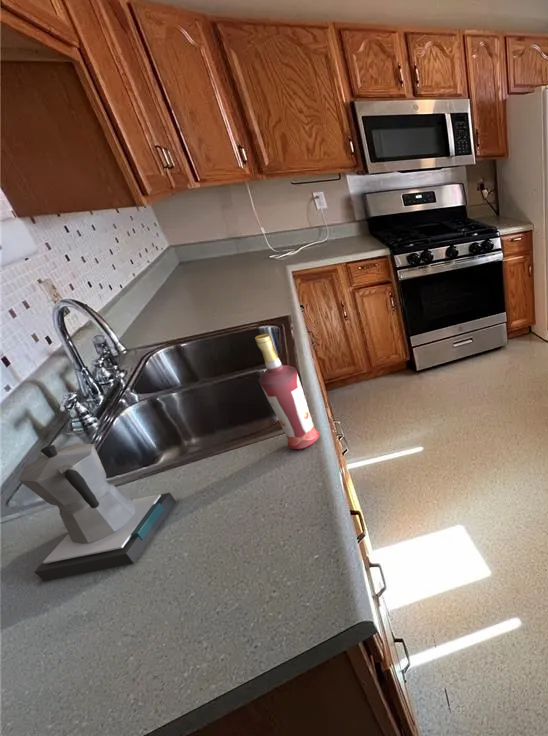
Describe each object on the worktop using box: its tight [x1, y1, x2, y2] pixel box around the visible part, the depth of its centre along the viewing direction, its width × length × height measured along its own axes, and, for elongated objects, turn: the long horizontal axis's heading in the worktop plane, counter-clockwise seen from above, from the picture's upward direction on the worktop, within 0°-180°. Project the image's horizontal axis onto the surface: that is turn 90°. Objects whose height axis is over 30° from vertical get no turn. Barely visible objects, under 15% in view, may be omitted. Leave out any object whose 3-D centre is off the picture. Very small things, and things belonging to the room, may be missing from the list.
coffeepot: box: [17, 442, 135, 543], centre depth 71 cm, size 15×9×18 cm, turn 59°
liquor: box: [254, 333, 320, 450], centre depth 91 cm, size 7×7×28 cm
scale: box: [33, 492, 177, 582], centre depth 76 cm, size 14×14×3 cm
